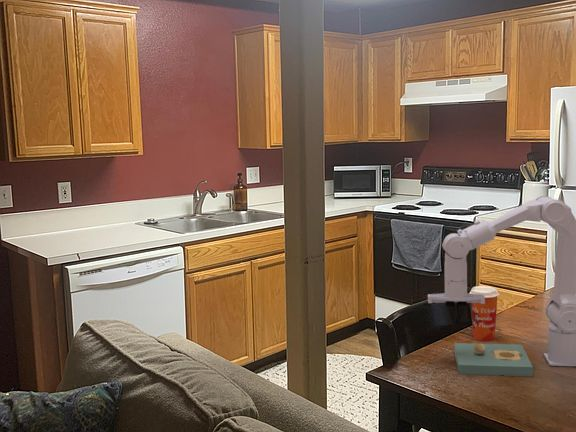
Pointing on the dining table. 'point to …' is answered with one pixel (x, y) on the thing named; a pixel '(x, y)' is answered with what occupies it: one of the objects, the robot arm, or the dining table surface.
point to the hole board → (493, 360)
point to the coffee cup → (484, 313)
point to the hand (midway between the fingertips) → (456, 328)
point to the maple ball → (479, 348)
